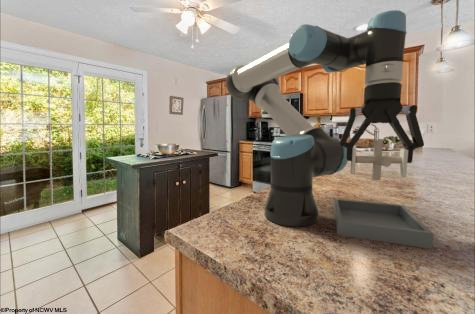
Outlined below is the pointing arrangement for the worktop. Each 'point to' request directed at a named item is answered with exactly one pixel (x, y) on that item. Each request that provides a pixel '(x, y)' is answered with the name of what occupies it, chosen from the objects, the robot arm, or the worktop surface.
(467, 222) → the worktop surface
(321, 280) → the worktop surface
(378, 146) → the pipe connector
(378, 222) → the tray
